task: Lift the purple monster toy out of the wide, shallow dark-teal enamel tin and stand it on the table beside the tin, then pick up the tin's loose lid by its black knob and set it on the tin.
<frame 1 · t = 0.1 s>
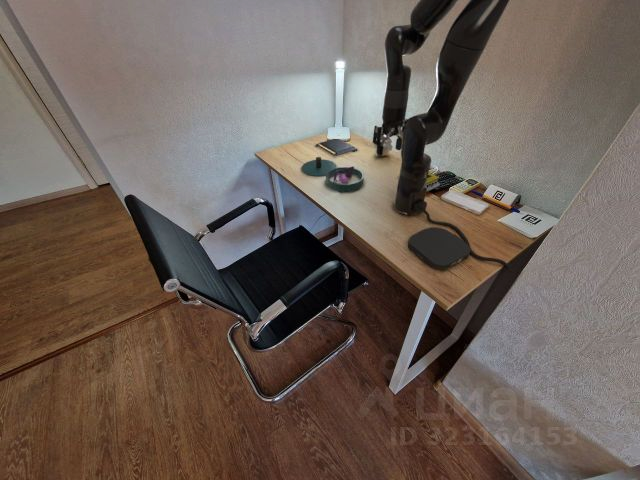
hand: (389, 152, 96), 17 cm above the table, tool pointing down, fingers open, 8 cm apart
dark notebook: (336, 148, 144), on the table
ghost figurine: (381, 155, 134), on the table
emergency button: (418, 182, 112), on the table
tin lid: (319, 167, 125), point 1 cm above the table
media streaming box: (436, 250, 81), on the table
purple monster toy: (344, 182, 115), resting on tin
tin: (344, 182, 115), on the table
phone case: (463, 203, 99), on the table
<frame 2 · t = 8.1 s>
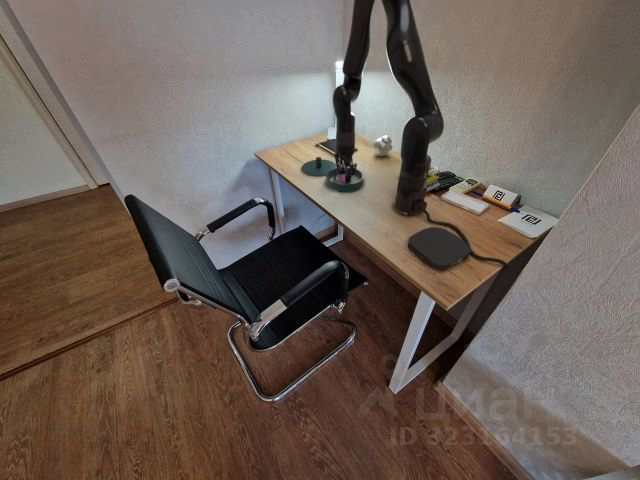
hand: (345, 180, 114), 1 cm above the table, tool pointing down, fingers closed on purple monster toy, 4 cm apart
purple monster toy: (344, 182, 115), resting on tin, touching gripper
everything else where it was.
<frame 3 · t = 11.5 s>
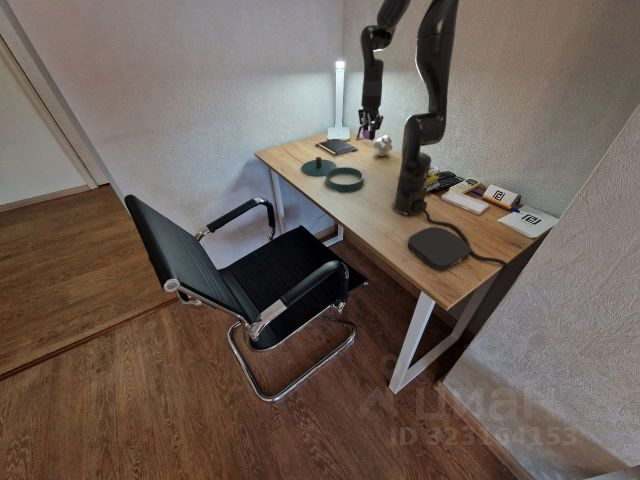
hand: (368, 137, 110), 16 cm above the table, tool pointing down, fingers closed on purple monster toy, 4 cm apart
purple monster toy: (367, 140, 111), point 15 cm above the table, touching gripper
everything else where it was.
when the fingers open (1 cm above the table, at t = 15.2 s): purple monster toy stays where it is, on the table.
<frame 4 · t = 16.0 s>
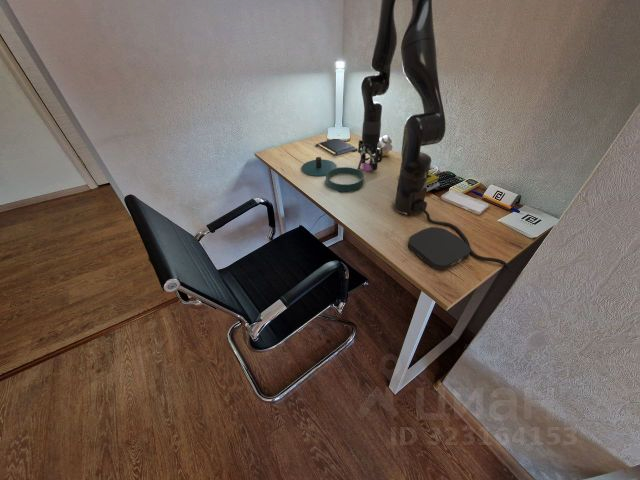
hand: (368, 166, 120), 2 cm above the table, tool pointing down, fingers open, 8 cm apart
purple monster toy: (367, 171, 122), on the table
everything else where it was.
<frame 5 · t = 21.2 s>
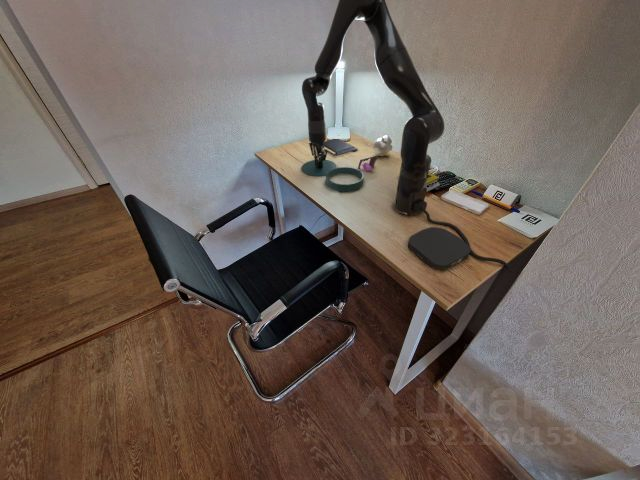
hand: (319, 166, 125), 1 cm above the table, tool pointing down, fingers closed on tin lid, 2 cm apart
tin lid: (319, 167, 125), point 1 cm above the table, touching gripper
everything else where it was.
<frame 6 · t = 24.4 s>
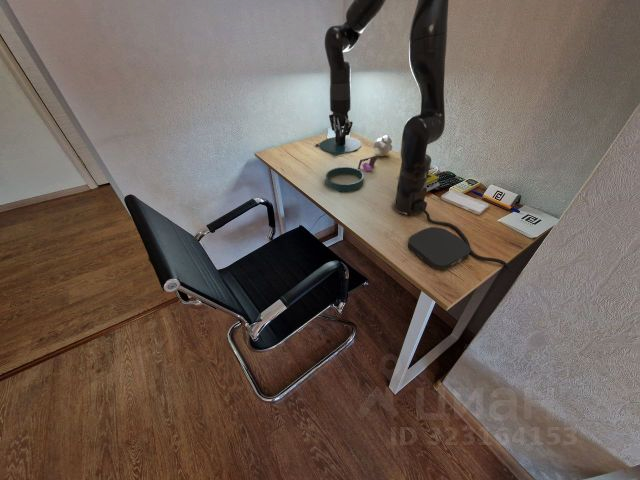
hand: (340, 143, 105), 17 cm above the table, tool pointing down, fingers closed on tin lid, 2 cm apart
tin lid: (340, 145, 106), point 16 cm above the table, touching gripper
everything else where it was.
when the fingers open (4 cm above the table, at t = 27.8 s): tin lid stays where it is, resting on tin.
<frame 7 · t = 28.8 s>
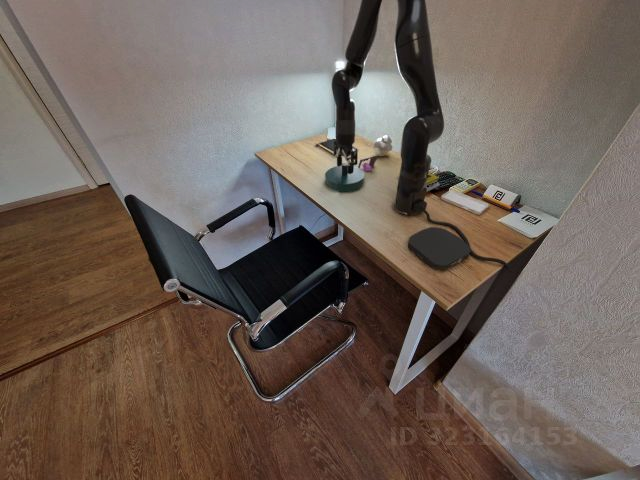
hand: (344, 169, 110), 6 cm above the table, tool pointing down, fingers open, 8 cm apart
tin lid: (344, 175, 112), point 4 cm above the table, touching tin
everything else where it was.
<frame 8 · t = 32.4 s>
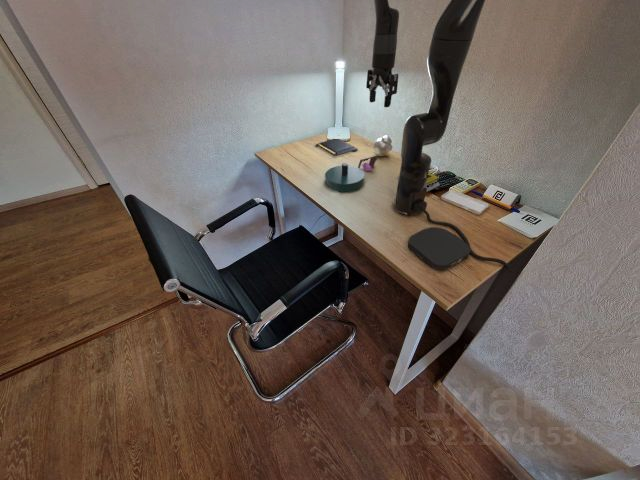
hand: (379, 104, 97), 30 cm above the table, tool pointing down, fingers open, 8 cm apart
nothing on the table moved.
at the end: purple monster toy inside the target area (0.3 cm from its centre), on the table; tin lid 0.1 cm off-centre on the tin, point 3.6 cm above the tin's base; tin lid tilted 0° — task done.
